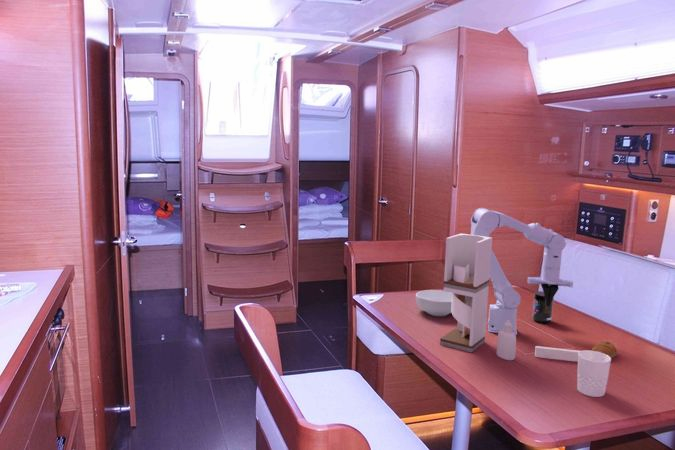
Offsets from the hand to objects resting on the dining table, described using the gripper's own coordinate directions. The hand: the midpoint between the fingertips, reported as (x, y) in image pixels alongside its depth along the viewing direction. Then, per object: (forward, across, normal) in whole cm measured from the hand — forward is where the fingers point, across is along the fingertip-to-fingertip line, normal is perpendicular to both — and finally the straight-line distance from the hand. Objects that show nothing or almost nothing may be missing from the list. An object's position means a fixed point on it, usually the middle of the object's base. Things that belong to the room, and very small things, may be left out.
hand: (547, 305), depth 189 cm
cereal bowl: (+10, -38, +8) cm, 40 cm away
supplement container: (+10, 0, +11) cm, 15 cm away
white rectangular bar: (+9, +1, -25) cm, 27 cm away
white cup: (+10, +6, -46) cm, 47 cm away
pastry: (+10, +15, -18) cm, 25 cm away
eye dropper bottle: (+10, -15, -29) cm, 34 cm away
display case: (+10, -28, -21) cm, 36 cm away
